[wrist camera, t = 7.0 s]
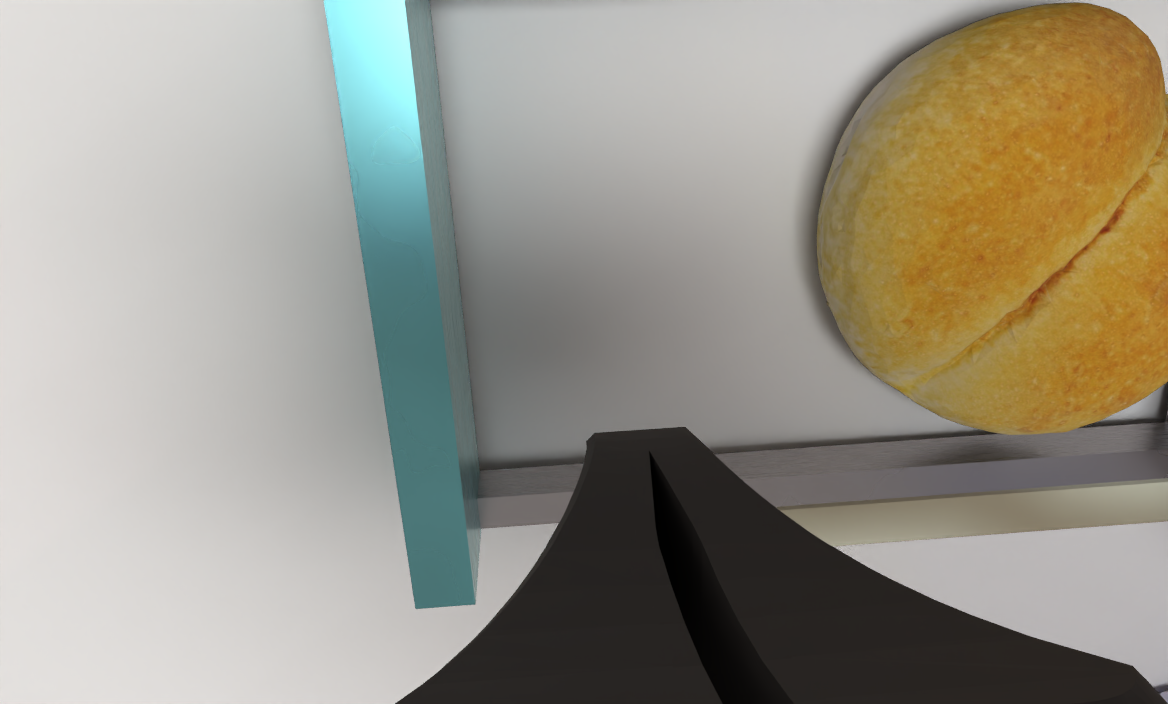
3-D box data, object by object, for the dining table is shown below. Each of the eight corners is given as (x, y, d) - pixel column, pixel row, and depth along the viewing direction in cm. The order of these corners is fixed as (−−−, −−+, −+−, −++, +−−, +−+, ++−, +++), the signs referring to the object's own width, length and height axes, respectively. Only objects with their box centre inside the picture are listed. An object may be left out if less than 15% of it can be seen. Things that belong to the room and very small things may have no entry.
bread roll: (1004, -81, 18) (1133, -92, 14) (1252, 202, 20) (1415, 255, 17) (718, 238, 20) (763, 301, 16) (975, 455, 22) (1064, 551, 19)
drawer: (1196, 451, 22) (1318, 539, 19) (433, 506, 21) (415, 608, 18) (1341, -101, 17) (1541, -117, 14) (358, -53, 16) (314, -58, 13)
